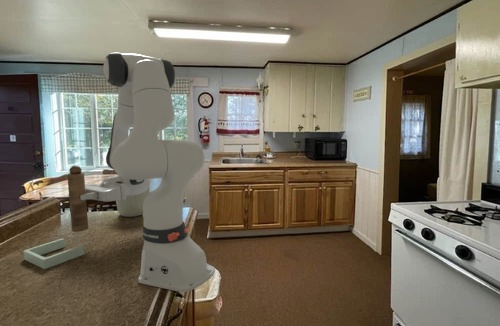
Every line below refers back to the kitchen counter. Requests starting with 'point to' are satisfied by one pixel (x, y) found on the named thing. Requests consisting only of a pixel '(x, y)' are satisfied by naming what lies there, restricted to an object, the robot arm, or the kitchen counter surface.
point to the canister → (132, 204)
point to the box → (35, 252)
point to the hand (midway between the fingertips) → (74, 196)
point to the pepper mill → (77, 199)
